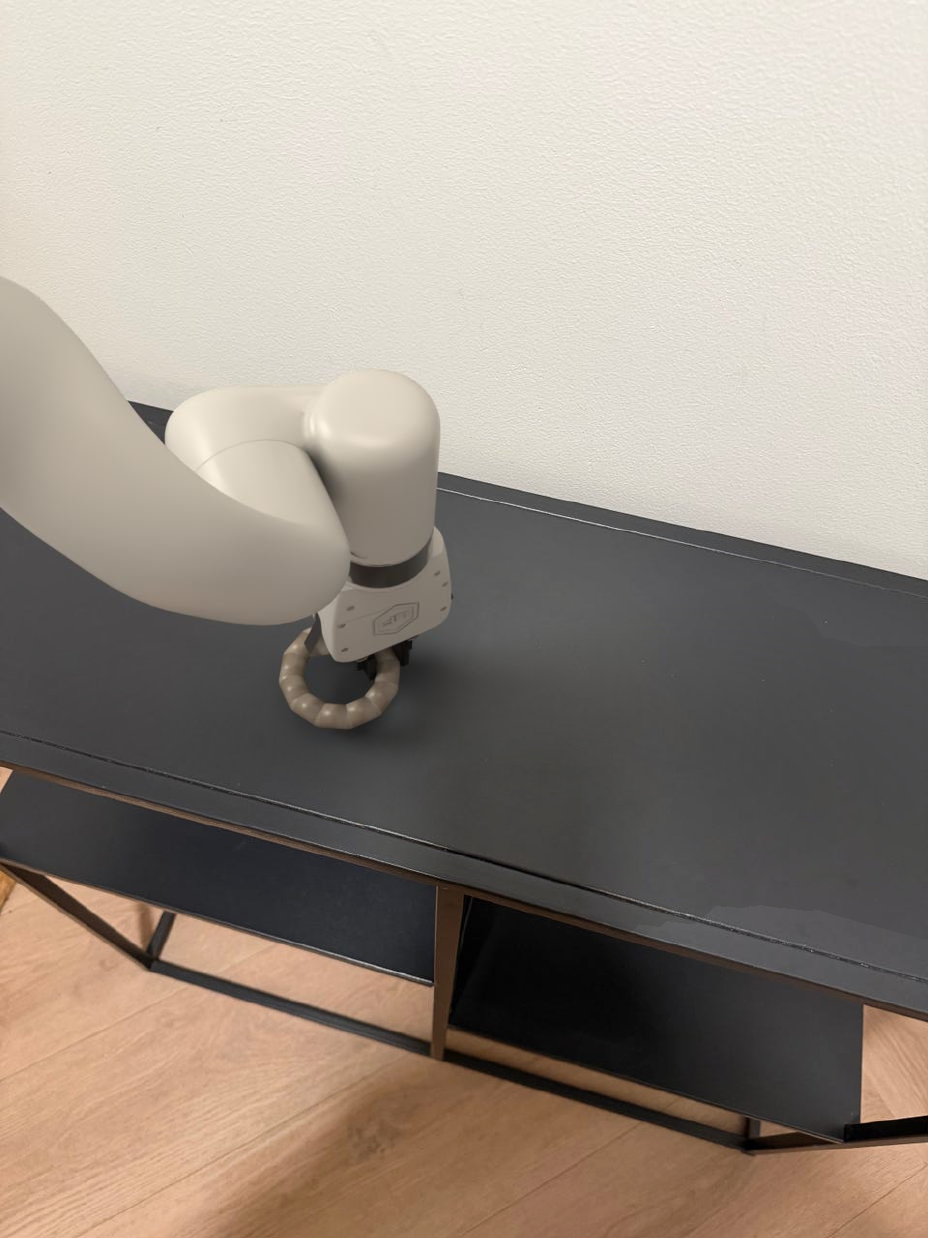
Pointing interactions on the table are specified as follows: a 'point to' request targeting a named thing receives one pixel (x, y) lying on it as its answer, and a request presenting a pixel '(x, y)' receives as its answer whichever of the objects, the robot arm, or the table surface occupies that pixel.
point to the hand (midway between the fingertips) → (381, 658)
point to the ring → (337, 713)
